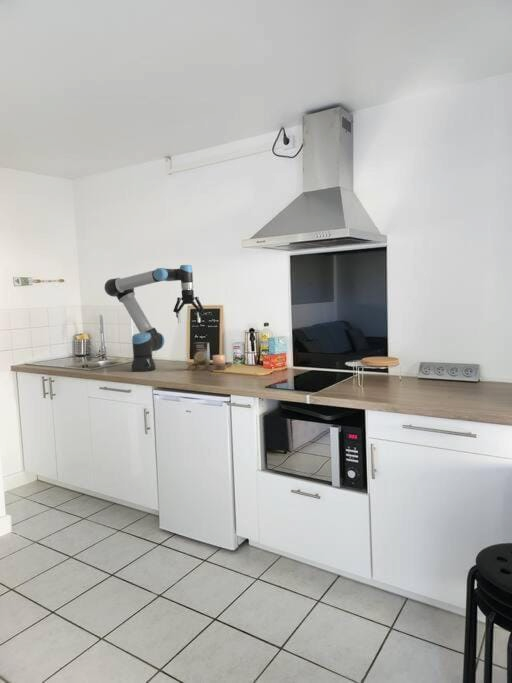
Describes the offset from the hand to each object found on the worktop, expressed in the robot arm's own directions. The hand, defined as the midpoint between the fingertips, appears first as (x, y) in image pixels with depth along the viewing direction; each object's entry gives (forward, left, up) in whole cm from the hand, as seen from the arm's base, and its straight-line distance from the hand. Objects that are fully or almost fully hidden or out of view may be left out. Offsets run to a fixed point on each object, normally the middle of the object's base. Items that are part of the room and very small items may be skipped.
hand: (189, 322), depth 312 cm
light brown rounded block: (+23, -12, -28) cm, 38 cm away
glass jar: (+12, -12, -28) cm, 33 cm away
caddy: (+17, -12, -29) cm, 35 cm away
